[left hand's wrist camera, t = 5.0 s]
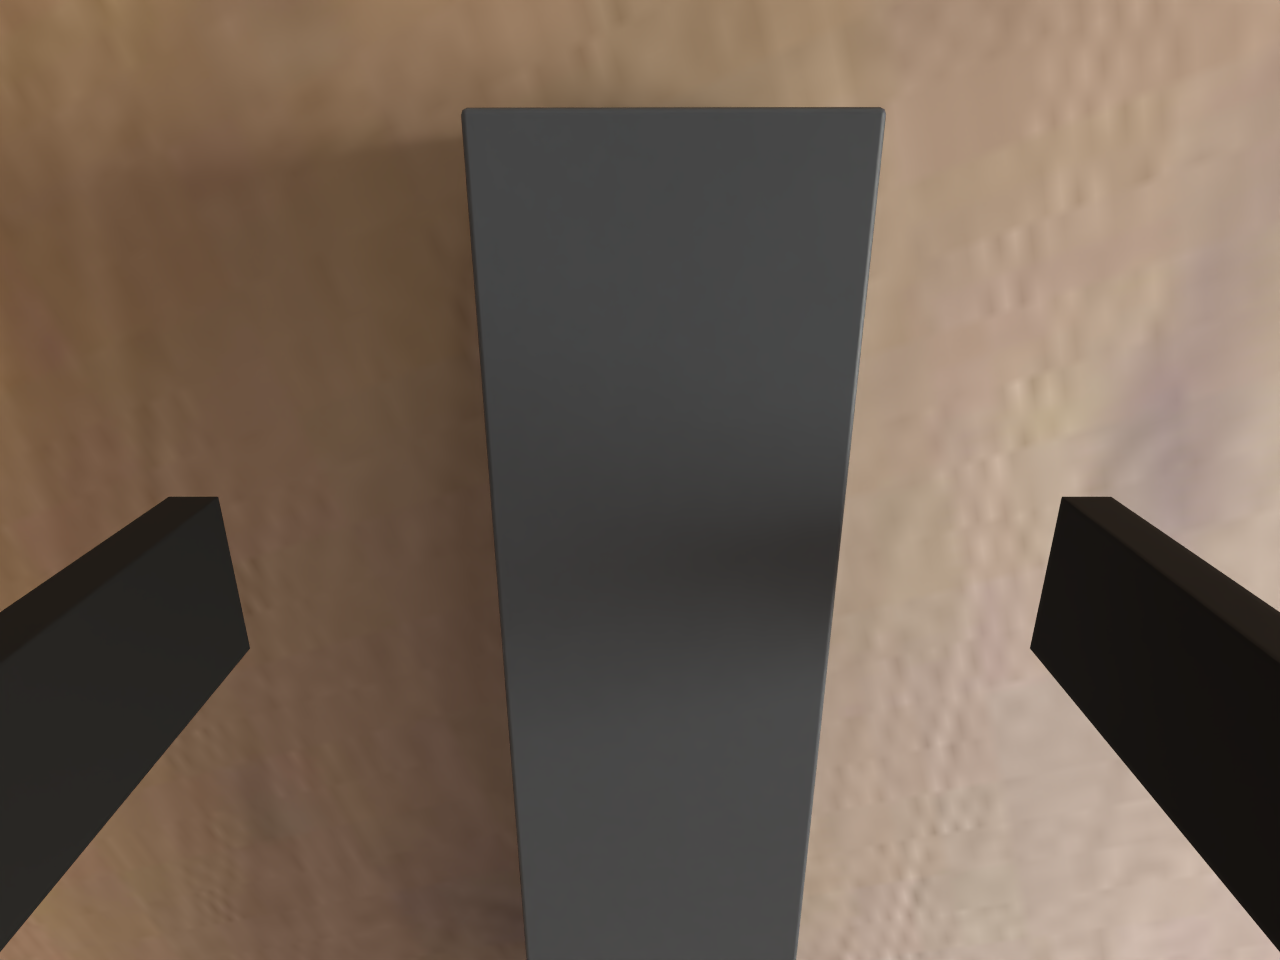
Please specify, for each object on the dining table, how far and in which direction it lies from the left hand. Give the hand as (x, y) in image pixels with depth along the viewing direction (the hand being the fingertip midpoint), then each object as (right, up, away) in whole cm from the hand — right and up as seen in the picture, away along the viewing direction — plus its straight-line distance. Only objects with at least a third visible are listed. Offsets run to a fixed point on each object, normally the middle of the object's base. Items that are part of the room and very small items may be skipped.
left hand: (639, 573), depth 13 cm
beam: (+1, -18, +16) cm, 24 cm away
